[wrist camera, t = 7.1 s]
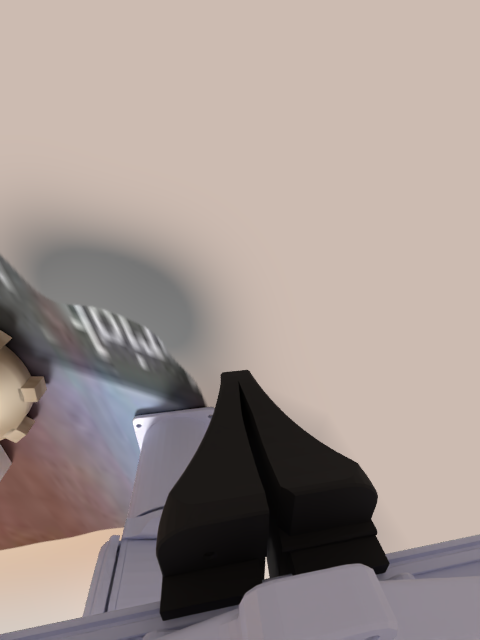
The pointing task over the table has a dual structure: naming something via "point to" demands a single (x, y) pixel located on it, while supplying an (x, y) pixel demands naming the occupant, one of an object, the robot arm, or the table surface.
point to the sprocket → (16, 393)
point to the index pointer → (4, 462)
